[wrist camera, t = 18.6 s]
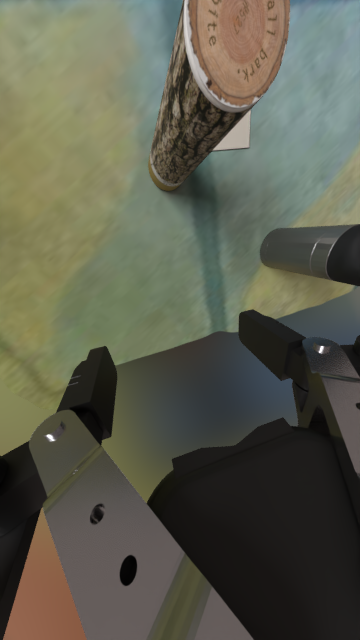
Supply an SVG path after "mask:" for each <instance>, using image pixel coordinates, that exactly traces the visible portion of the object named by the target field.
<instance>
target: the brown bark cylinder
mask: <svg viewBox="0 0 360 640" xmlns="http://www.w3.org/2000/svg"><path fill="white" fill-rule="evenodd" d="M289 22H290V0H183V4H182V8H181V13H180V18H179V22H178V27H177V31H176V36H175V41H174V45H173V50H172V54H171V59H170V64H169V68H168V73H167V77H166V82H165V87H164V91H163V96H162V101H161V105H160V110H159V114H158V119H157V124H156V128H155V133H154V137H153V142H152V147H151V151H150V156H149V163H148V166H149V173H150V176H151V178H152V180H153V182H154V183H155V184H156V185H157V186H158V187H159V188H160V189H162V190H165V191H171V190H174V189H176V188H177V187H179V185H180V184H181V183H182V182H183V181H184V180H185V179H186V178H187V177H188V176H189V175H190V174H191V173H192V172H193V171H194V170H195V168H196V167H197V166H198V165H199V164H200V163H201V162H202V161H203V160H204V159H205V158H206V157H207V156H208V155H209V153H210V152H211V151H212V150H213V149H214V148H215V147H216V146H217V145H218V144H219V143H220V142H221V141H222V139H223V138H224V137H225V136H226V135H227V134H228V133H229V132H230V131H231V130H232V129H233V128H234V127H235V126H236V124H237V123H238V122H239V121H240V120H241V119H242V118H243V117H244V116H245V115H246V114H247V113H248V112H249V111H250V109H251V108H252V107H253V106H254V105H255V104H256V103H257V102H258V101H259V100H260V99H261V98H262V96H263V95H264V94H265V93H266V91H267V90H268V89H269V87H270V86H271V84H272V83H273V81H274V79H275V77H276V75H277V73H278V71H279V68H280V66H281V63H282V60H283V56H284V53H285V49H286V45H287V39H288V32H289Z"/></svg>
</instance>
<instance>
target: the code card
mask: <svg viewBox="0 0 360 640" xmlns="http://www.w3.org/2000/svg"><path fill="white" fill-rule="evenodd" d="M250 113H251V109H250V111H249V112H248V113H247V114H246V115H245V116H244V117H243V118H242V119H241V120H240V121H239V122H238V123H237V124H236V126H235V127H234V128H233V129H232V130H231V131H230V132H229V133H228V134H227V135H226V136H225V137H224V138H223V139H222V141H221V142H220V143H219V144H218V145H217V146H216V147H215V148H214V149H213V150H212V151H216V150H228V149H240V148H249V138H250Z"/></svg>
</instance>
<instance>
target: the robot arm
mask: <svg viewBox="0 0 360 640" xmlns="http://www.w3.org/2000/svg"><path fill="white" fill-rule="evenodd" d="M260 256H261V260H262V262H263V263H264V264H265V265H266V266H269V267H273V268H278V269H282V270H286V271H291V272H296V273H300V274H305V275H309V276H314V277H319V278H323V279H328V280H333V281H337V282H342V283H347V284H351V285H356V286H360V224H354V225H337V226H318V227H299V228H280V229H276V230H273V231H272V232H270V233H269V234H268V235H267V236H266V238H265V239H264V241H263V243H262V246H261V250H260ZM239 338H240V341H241V342H242V344H244V345H245V346H246V347H247V348H248V349H249V350H250V351H251V352H252V353H253V354H254V355H255V356H256V357H257V358H258V359H259V360H260V361H261V362H262V363H263V364H264V365H265V366H266V367H268V369H269V370H270V371H271V372H272V373H273V374H275V375H276V376H277V377H278V378H279V379H280V380H281V381H282V380H285V379H288V378H291V379H292V380H293V382H292V388H293V394H294V400H295V406H296V411H297V418H298V426H297V427H296V426H290V425H289V424H288V423H287V422H286V420H285V419H284V418H280V419H277V420H275V421H273V422H270V423H267V424H264V425H261V426H259V427H257V428H256V429H255V430H254V431H252V432H251V433H250V434H249V435H248V436H246V437H245V438H244V439H243V440H242V441H241V442H239V443H238V444H236V445H234V446H228V447H227V446H226V447H211V448H210V447H209V448H200V449H197V450H195V451H192V452H190V453H187V454H184V455H182V456H179V457H176V458H174V459H172V463H173V468H174V470H173V471H171V472H170V473H169V474H167V475H166V476H165V478H164V479H163V480H162V481H161V482H160V483H159V484H158V486H157V487H156V488H155V490H154V491H153V493H152V495H151V496H150V498H149V500H148V501H147V503H146V502H145V501H144V500H143V499H142V497H141V496H140V495H139V493H138V492H137V491H136V490H135V488H134V487H133V486H132V485H131V483H130V482H129V481H128V479H127V478H126V477H125V476H124V474H123V473H122V472H121V470H120V469H119V468H118V466H117V465H116V464H115V463H114V461H113V460H112V459H111V457H110V456H109V455H108V454H107V452H106V451H105V450H104V448H103V447H102V446H101V443H102V440H103V439H106V438H109V437H111V434H112V424H113V414H114V405H115V395H116V385H117V371H116V368H115V365H114V362H113V360H112V358H111V355H110V353H109V351H108V348H107V347H106V346H103V347H99V348H95V349H91V350H90V352H89V355H88V357H87V360H86V361H82V362H81V363H80V364H79V365H78V366H77V367H76V369H75V370H74V372H73V375H72V377H71V379H70V381H69V384H68V386H67V388H66V391H65V393H64V395H63V398H62V400H61V402H60V405H59V407H58V409H57V412H56V413H55V414H53V415H51V416H50V417H48V418H47V419H46V420H44V421H43V422H42V423H41V424H40V425H39V426H38V427H37V428H36V430H35V431H34V433H33V434H32V436H31V438H30V440H29V441H28V442H26V443H24V444H23V445H21V446H19V447H18V448H15V449H14V450H12V451H10V452H8V453H7V454H5V455H3V456H0V640H3V637H4V634H5V630H6V627H7V623H8V620H9V617H10V613H11V610H12V606H13V603H14V600H15V596H16V593H17V589H18V586H19V583H20V579H21V576H22V572H23V569H24V565H25V562H26V559H27V555H28V552H29V548H30V545H31V541H32V538H33V535H34V531H35V528H36V524H37V521H38V517H39V514H40V510H41V508H42V507H43V511H44V514H45V517H46V520H47V523H48V526H49V529H50V532H51V535H52V538H53V541H54V544H55V547H56V550H57V553H58V556H59V559H60V561H61V565H62V568H63V570H64V573H65V576H66V579H67V582H68V585H69V588H70V591H71V594H72V597H73V600H74V603H75V606H76V609H77V612H78V615H79V618H80V621H81V624H82V627H83V630H84V632H85V635H86V638H87V640H360V335H359V336H358V337H357V338H356V341H355V343H354V345H339V344H337V343H335V342H334V341H331V340H329V339H325V338H321V337H309V338H306V337H304V336H302V335H300V334H299V333H297V332H295V331H294V330H292V329H290V328H289V327H287V326H284V325H283V324H282V323H279V322H278V321H276V320H275V319H273V318H271V317H268V316H264V315H262V314H260V313H258V312H257V311H255V310H248V311H244V312H241V313H240V314H239Z"/></svg>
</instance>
